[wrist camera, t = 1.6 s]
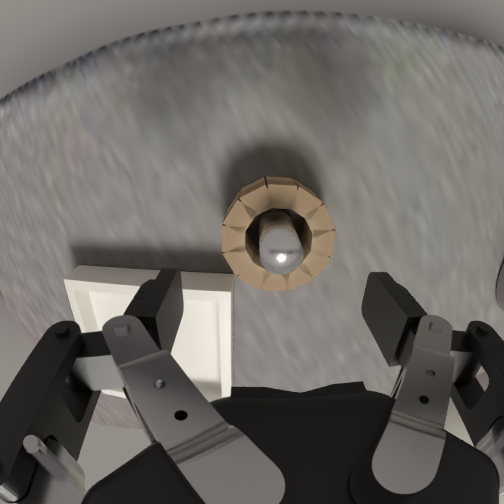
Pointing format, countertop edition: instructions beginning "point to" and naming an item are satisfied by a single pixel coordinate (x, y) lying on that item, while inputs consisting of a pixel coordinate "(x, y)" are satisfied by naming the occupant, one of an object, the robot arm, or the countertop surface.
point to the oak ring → (312, 241)
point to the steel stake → (279, 243)
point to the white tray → (191, 327)
